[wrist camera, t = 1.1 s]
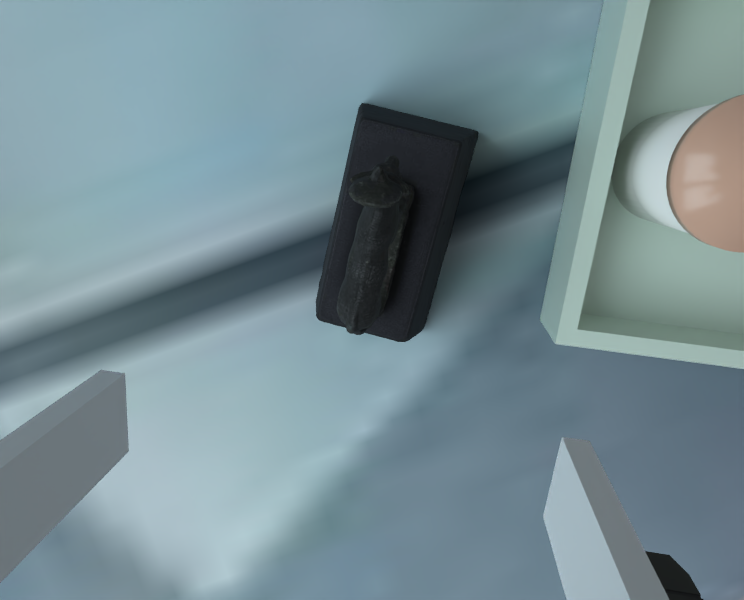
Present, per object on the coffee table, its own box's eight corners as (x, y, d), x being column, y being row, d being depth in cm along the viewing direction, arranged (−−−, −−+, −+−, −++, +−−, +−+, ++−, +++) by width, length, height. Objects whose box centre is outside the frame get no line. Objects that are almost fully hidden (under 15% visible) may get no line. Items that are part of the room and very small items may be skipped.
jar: (621, 102, 29) (698, 81, 21) (743, 114, 29) (871, 97, 20) (596, 218, 31) (657, 242, 23) (710, 231, 31) (815, 261, 22)
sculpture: (488, 134, 32) (534, 119, 17) (421, 336, 35) (412, 462, 21) (361, 96, 32) (302, 50, 17) (308, 301, 36) (223, 402, 21)
